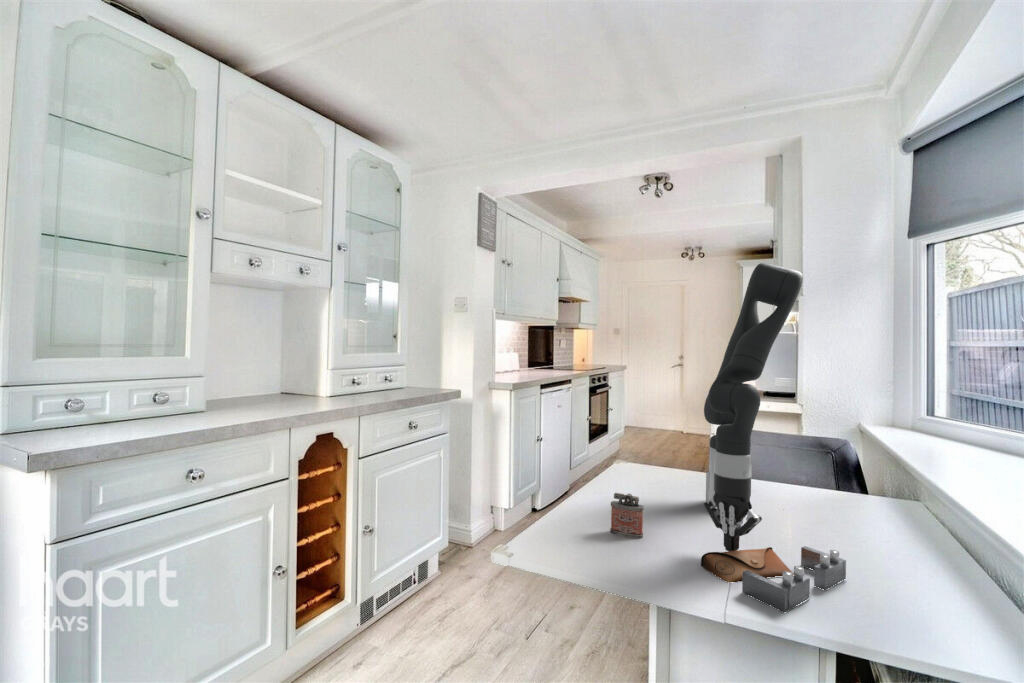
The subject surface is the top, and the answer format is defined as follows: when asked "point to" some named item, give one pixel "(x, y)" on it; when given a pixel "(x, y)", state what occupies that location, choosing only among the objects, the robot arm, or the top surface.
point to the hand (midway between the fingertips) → (731, 550)
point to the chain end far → (824, 566)
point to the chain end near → (778, 589)
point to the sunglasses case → (743, 563)
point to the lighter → (627, 516)
